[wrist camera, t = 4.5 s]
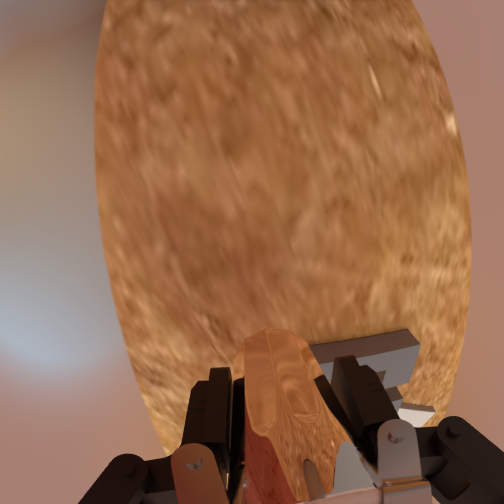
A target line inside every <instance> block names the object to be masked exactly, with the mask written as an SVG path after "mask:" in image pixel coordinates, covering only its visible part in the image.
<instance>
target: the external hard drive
mask: <svg viewBox="0 0 504 504" xmlns="http://www.w3.org/2000/svg"><path fill="white" fill-rule="evenodd" d="M435 412H436V411H435V409H434V408H433V407H428V406H421V405H414V404H407V403H401V406H400V408H399V411H398V415H399V417H400V419H402V420H405V421H407V422H409V423H410V424H412V425H413V427H422V426H423V425H424V424H425V423H426V422H427V421H428V420H429V418H430V417H431V416H432V415H433V414H434V413H435Z"/></svg>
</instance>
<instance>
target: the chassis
mask: <svg viewBox="0 0 504 504" xmlns="http://www.w3.org/2000/svg"><path fill="white" fill-rule="evenodd" d="M420 345H421V344H420V343H419V342H418V340H417V339H416V338H415V337H414V336H413V335H412V334H411V332H410V331H409V330H408V329H406V330H401V331H396V332H392V333H386V334H381V335H376V336H370V337H365V338H359V339H353V340H346V341H340V342H333V343H326V344H318V345H310V346H309V347H310V349H311V351H312V353H313V355H314V356H315V358H316V360H317V362H318V364H319V366H320V367H321V369H322V371H323V373H324V375H325V376H326V378H327V380H328V381H331V378H332V371H333V364H334V359H335V357H341V356H347V355H354V356H355V357H356V359H357V361H358V364H359V366H362V365H368V366H369V367H370V368H372V369H373V370H374V371H375V372H376V373H377V375H378V377H379V379H380V381H381V383H382V384H383V386H384V388H385V390H386V392H387V394H388V396H389V398H390V400H391V402H392V404H393V406H394V408H395V409H396V411H397V413H398V411H399V408H400V406H401V403H402V400H403V397H402V396H401V394H400V392H399V391H398V389H397V387H396V386H398V385H402V384H405V383H409V381H410V378H411V375H412V372H413V369H414V366H415V362H416V359H417V356H418V352H419V349H420Z"/></svg>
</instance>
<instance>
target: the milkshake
mask: <svg viewBox="0 0 504 504" xmlns="http://www.w3.org/2000/svg"><path fill="white" fill-rule="evenodd" d="M382 484H383V483H382V480H381V478H380V477H379V475H378V472H377V468H376V466H375V464H374V462H373V460H372V458H371V457H370V455H369V453H368V452H367V450H366V448H365V447H364V445H363V443H362V442H361V440H360V438H359V437H358V435H357V433H356V431H355V430H354V428H353V426H352V424H351V422H350V421H349V419H348V417H347V415H346V413H345V411H344V409H343V408H342V406H341V404H340V402H339V400H338V398H337V397H336V395H335V393H334V391H333V389H332V387H331V386H330V384H329V382H328V380H327V378H326V376H325V375H324V373H323V371H322V369H321V367H320V366H319V364H318V362H317V360H316V358H315V356H314V355H313V353H312V351H311V349H310V347H309V346H308V344H307V342H306V341H305V340H304V339H303V338H301V337H300V336H298V335H297V334H295V333H294V332H293V331H291V330H290V329H264V330H262V331H260V332H258V333H256V334H254V335H252V336H250V337H248V338H246V339H244V341H243V343H242V345H241V347H240V349H239V350H238V352H237V354H236V356H235V362H234V380H233V398H232V418H231V440H230V461H229V474H228V487H227V497H228V500H229V502H230V504H381V503H382V490H381V485H382Z"/></svg>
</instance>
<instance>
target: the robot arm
mask: <svg viewBox="0 0 504 504" xmlns="http://www.w3.org/2000/svg"><path fill="white" fill-rule="evenodd" d="M331 387H332V389H333V391H334V393H335V395H336V397H337V398H338V400H339V402H340V404H341V406H342V408H343V409H344V411H345V413H346V415H347V417H348V419H349V421H350V422H351V424H352V426H353V428H354V430H355V431H356V433H357V435H358V437H359V438H360V440H361V442H362V443H363V445H364V447H365V448H366V450H367V452H368V453H369V455H370V457H371V458H372V460H373V462H374V464H375V466H376V468H377V472H378V475H379V477H380V478H381V480H382V483H383V484H382V485H381V490H382V503H381V504H432V496H434V497H435V499H436V500H437V501H438V502H439V503H440V504H504V452H503V451H502V450H500V449H499V448H498V447H497V446H496V445H494V444H493V443H492V442H491V441H489V440H488V439H487V438H486V437H485V436H483V435H482V434H481V433H480V432H479V431H477V430H476V429H475V428H474V427H472V426H471V425H470V424H469V423H468V422H466V421H465V420H464V419H462V418H460V417H457V416H450V417H446V418H444V419H443V420H442V421H441V422H440V423H439V425H438V426H435V427H413V425H412V424H410V423H409V422H407V421H405V420H402V419H400V417H399V415H398V413H397V411H396V409H395V408H394V406H393V404H392V402H391V400H390V398H389V396H388V394H387V392H386V390H385V388H384V386H383V384H382V383H381V381H380V379H379V377H378V375H377V373H376V372H375V371H374V370H373V369H372V368H370V367H369V366H368V365H362V366H359V364H358V361H357V359H356V357H355V356H354V355H347V356H341V357H335V359H334V364H333V371H332V378H331ZM232 398H233V383H232V377H231V370H230V367H221V368H211V369H210V375H209V381H198V382H197V383H196V384H195V386H194V387H193V388H192V390H191V393H190V399H189V404H188V411H187V415H186V420H185V426H184V432H183V437H182V442H181V445H180V447H179V448H178V449H176V450H175V451H174V453H173V454H172V455H170V456H168V457H165V458H161V459H154V460H148V461H144V460H143V459H142V458H140V457H139V456H137V455H134V454H122V455H119V456H117V457H115V458H114V459H113V460H112V461H111V462H110V463H109V465H108V466H107V467H106V468H105V470H104V471H103V472H102V474H101V475H100V476H99V477H98V479H97V480H96V481H95V482H94V484H93V485H92V486H91V488H90V489H89V490H88V491H87V493H86V494H85V495H84V497H83V498H82V499H81V500H80V502H79V503H78V504H230V502H229V500H228V497H227V488H226V486H227V473H229V461H230V440H231V418H232Z"/></svg>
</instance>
